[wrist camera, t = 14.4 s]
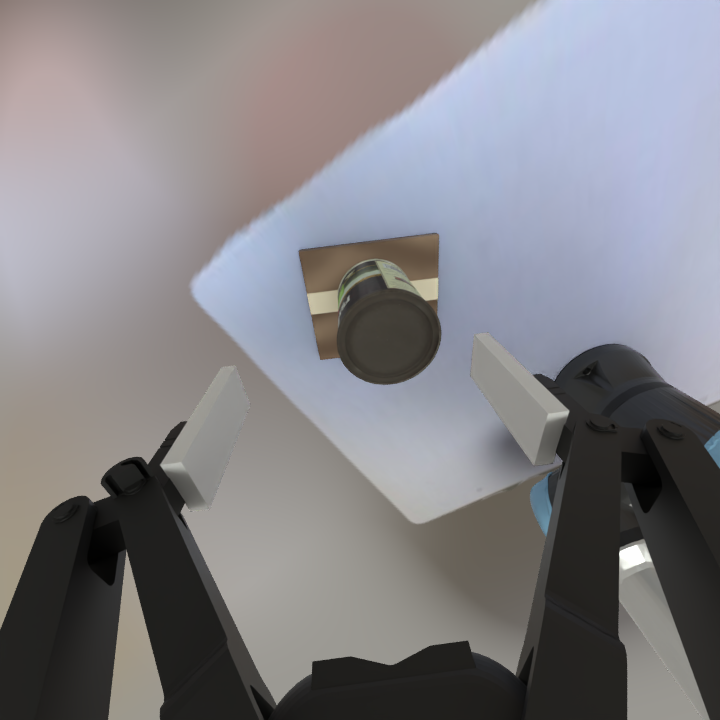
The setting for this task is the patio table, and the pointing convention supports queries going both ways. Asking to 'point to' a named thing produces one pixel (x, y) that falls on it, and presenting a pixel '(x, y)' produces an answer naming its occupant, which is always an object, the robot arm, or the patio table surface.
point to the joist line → (329, 300)
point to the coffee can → (384, 324)
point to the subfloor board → (334, 261)
